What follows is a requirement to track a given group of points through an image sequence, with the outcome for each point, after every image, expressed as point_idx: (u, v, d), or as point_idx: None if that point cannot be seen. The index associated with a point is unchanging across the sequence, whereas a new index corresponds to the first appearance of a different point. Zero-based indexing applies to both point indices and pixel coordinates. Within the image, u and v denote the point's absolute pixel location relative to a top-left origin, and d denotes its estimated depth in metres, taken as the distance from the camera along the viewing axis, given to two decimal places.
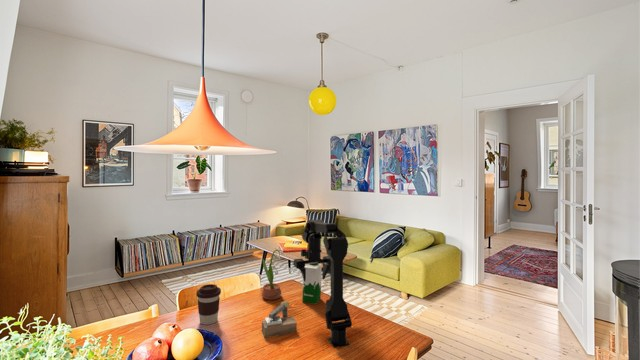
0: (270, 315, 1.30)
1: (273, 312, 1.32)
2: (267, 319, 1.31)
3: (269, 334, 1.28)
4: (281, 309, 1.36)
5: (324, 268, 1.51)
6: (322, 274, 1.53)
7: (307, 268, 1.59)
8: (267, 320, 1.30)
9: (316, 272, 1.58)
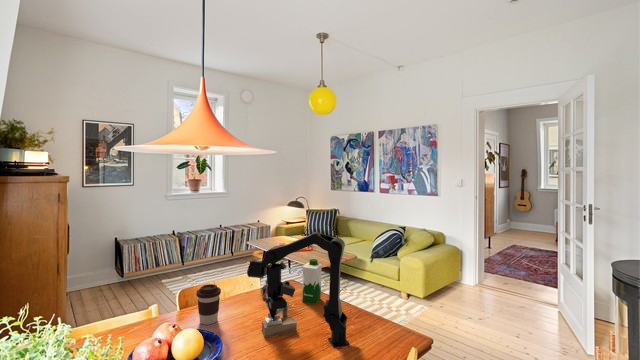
0: (269, 315, 1.30)
1: None
2: (267, 319, 1.31)
3: (269, 334, 1.28)
4: (281, 309, 1.36)
5: None
6: None
7: (307, 268, 1.59)
8: (267, 320, 1.30)
9: (316, 272, 1.58)
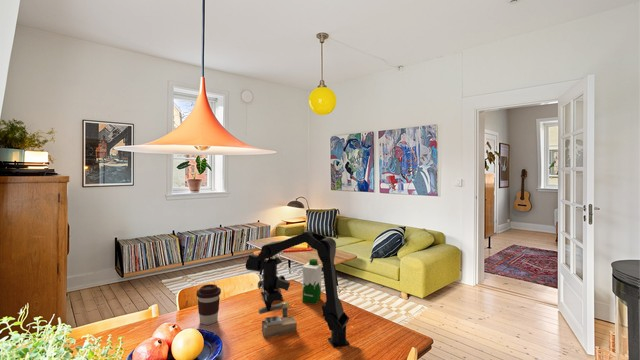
0: (259, 310, 1.34)
1: (264, 308, 1.35)
2: (267, 319, 1.31)
3: (269, 334, 1.28)
4: (276, 308, 1.38)
5: None
6: None
7: (307, 268, 1.59)
8: (267, 320, 1.30)
9: (316, 272, 1.58)
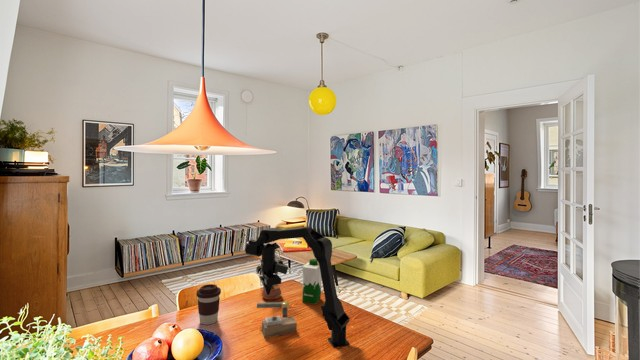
0: (257, 304, 1.40)
1: (261, 303, 1.40)
2: (267, 319, 1.31)
3: (269, 334, 1.28)
4: (274, 305, 1.40)
5: None
6: None
7: (307, 268, 1.59)
8: (267, 320, 1.30)
9: (316, 272, 1.58)
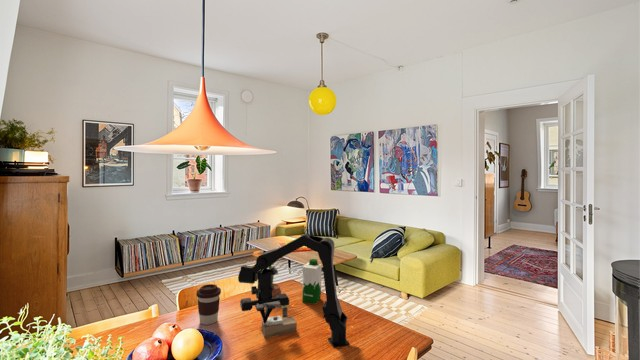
0: None
1: None
2: (268, 319, 1.31)
3: (269, 334, 1.28)
4: (274, 305, 1.40)
5: (266, 310, 1.29)
6: None
7: (307, 268, 1.59)
8: (268, 320, 1.30)
9: (316, 272, 1.58)
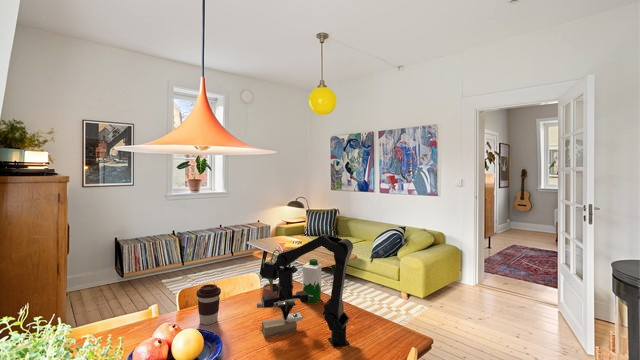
0: (257, 304, 1.40)
1: (261, 303, 1.40)
2: (288, 316, 1.34)
3: (269, 334, 1.28)
4: (274, 305, 1.40)
5: (286, 307, 1.32)
6: None
7: (307, 268, 1.59)
8: (288, 317, 1.33)
9: (316, 272, 1.58)
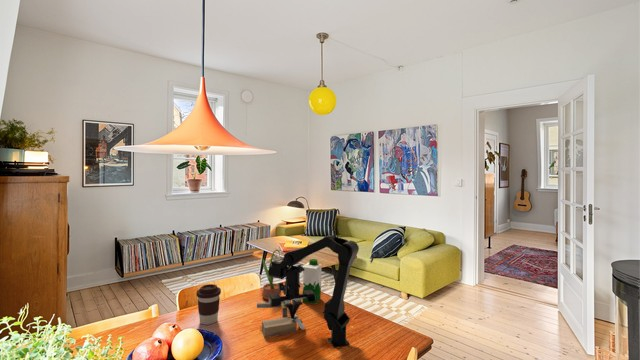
0: (257, 304, 1.40)
1: (261, 303, 1.40)
2: (296, 315, 1.35)
3: (269, 334, 1.28)
4: None
5: (293, 306, 1.33)
6: None
7: (307, 268, 1.59)
8: (297, 316, 1.34)
9: (316, 272, 1.58)
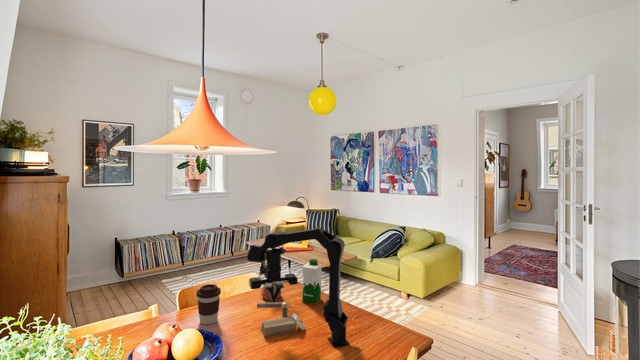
0: (257, 304, 1.40)
1: (261, 303, 1.40)
2: (296, 316, 1.35)
3: (269, 334, 1.28)
4: (274, 305, 1.40)
5: (275, 289, 1.30)
6: None
7: (307, 268, 1.59)
8: None
9: (316, 272, 1.58)
